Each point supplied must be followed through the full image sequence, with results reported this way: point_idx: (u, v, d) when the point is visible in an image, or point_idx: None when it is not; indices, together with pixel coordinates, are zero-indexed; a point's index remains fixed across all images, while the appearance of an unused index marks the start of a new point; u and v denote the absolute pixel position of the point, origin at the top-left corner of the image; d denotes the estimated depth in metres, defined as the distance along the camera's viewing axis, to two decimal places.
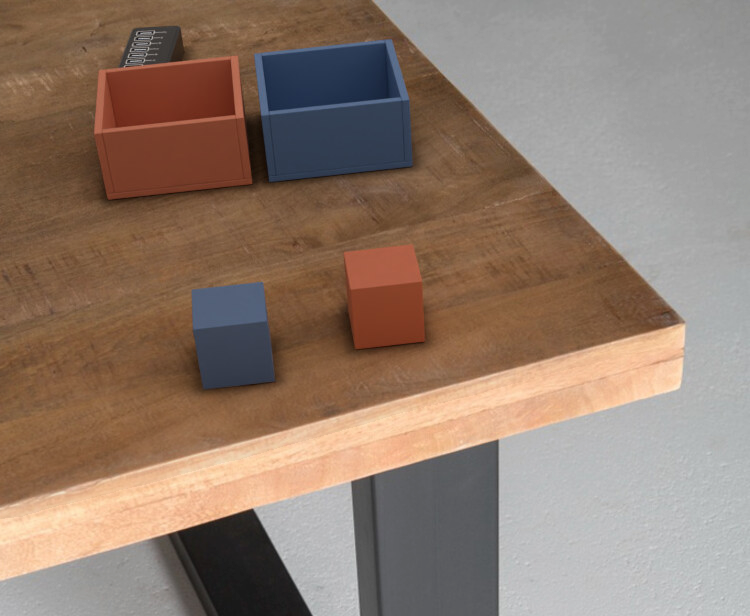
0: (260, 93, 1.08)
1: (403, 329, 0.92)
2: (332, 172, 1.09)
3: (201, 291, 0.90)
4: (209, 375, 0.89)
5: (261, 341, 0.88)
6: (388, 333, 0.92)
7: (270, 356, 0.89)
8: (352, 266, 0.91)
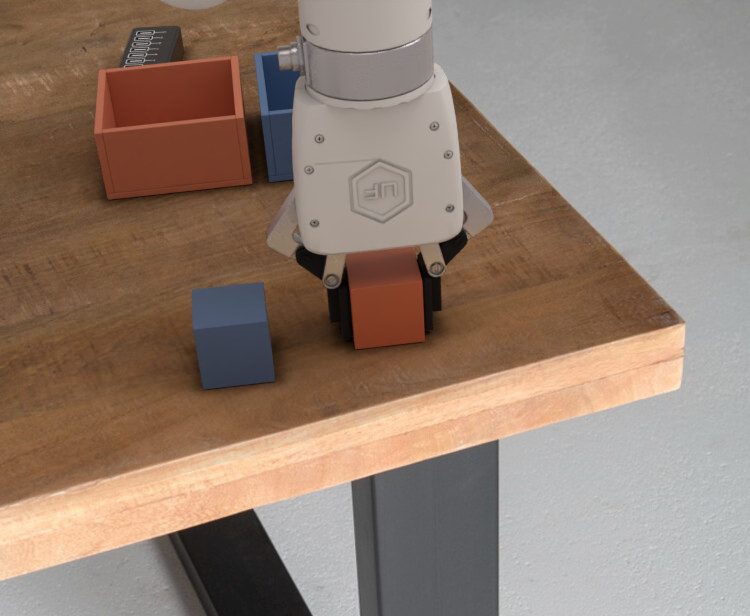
0: (260, 93, 1.08)
1: (403, 329, 0.92)
2: None
3: (201, 291, 0.90)
4: (209, 375, 0.89)
5: (261, 341, 0.88)
6: (388, 333, 0.92)
7: (270, 356, 0.89)
8: (352, 266, 0.91)
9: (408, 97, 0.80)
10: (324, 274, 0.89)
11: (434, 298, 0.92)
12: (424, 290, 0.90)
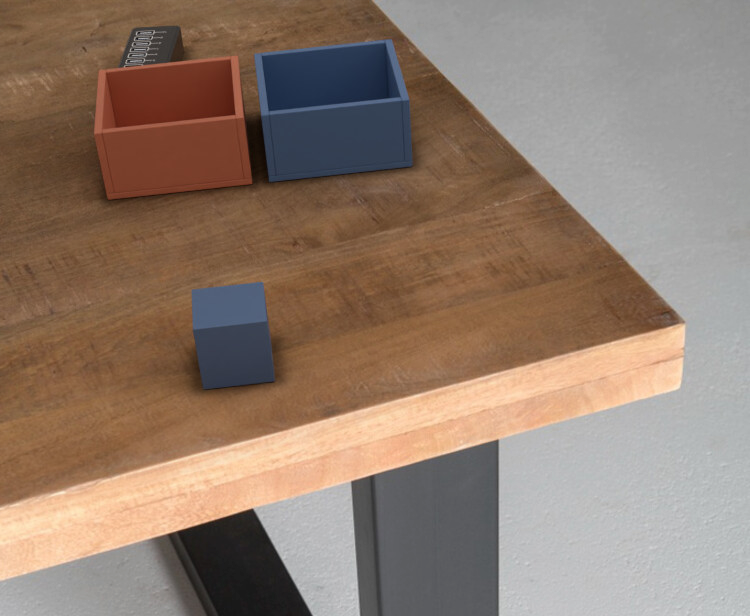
0: (260, 93, 1.08)
1: None
2: (332, 172, 1.09)
3: (201, 291, 0.90)
4: (209, 375, 0.89)
5: (261, 341, 0.88)
6: None
7: (270, 356, 0.89)
8: None
9: None
10: None
11: None
12: None
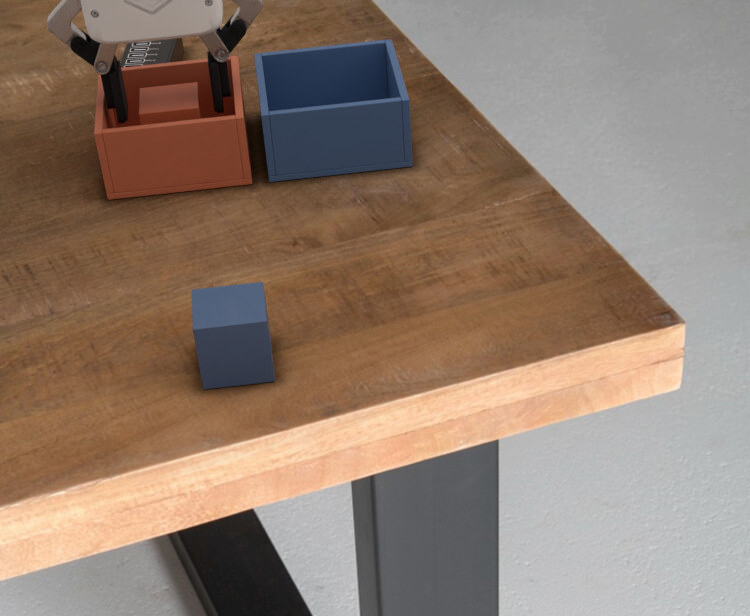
0: (260, 93, 1.08)
1: None
2: (332, 172, 1.09)
3: (201, 291, 0.90)
4: (209, 375, 0.89)
5: (261, 341, 0.88)
6: None
7: (270, 356, 0.89)
8: (144, 98, 1.10)
9: None
10: (96, 59, 1.05)
11: (223, 83, 1.08)
12: (211, 74, 1.07)
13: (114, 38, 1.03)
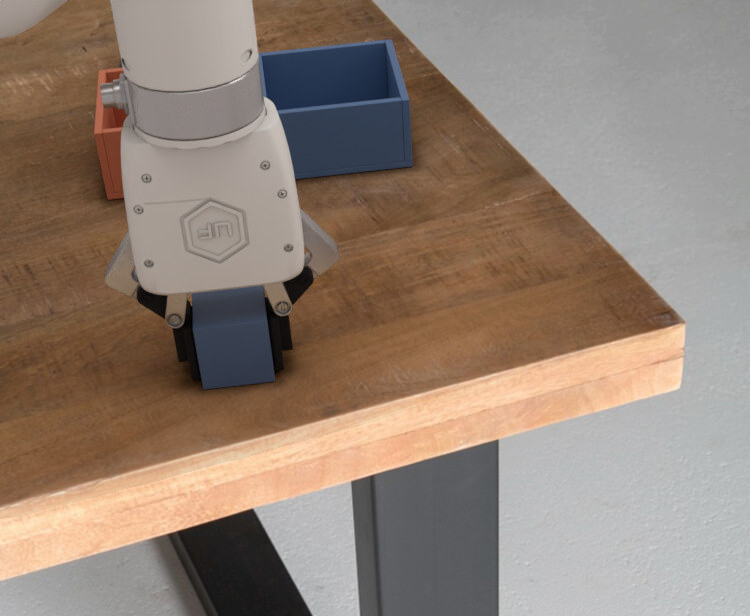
0: None
1: None
2: (332, 172, 1.09)
3: None
4: (209, 375, 0.89)
5: (261, 341, 0.88)
6: None
7: (270, 356, 0.89)
8: None
9: (234, 136, 0.78)
10: (166, 314, 0.87)
11: (283, 337, 0.90)
12: (271, 329, 0.88)
13: (172, 290, 0.84)
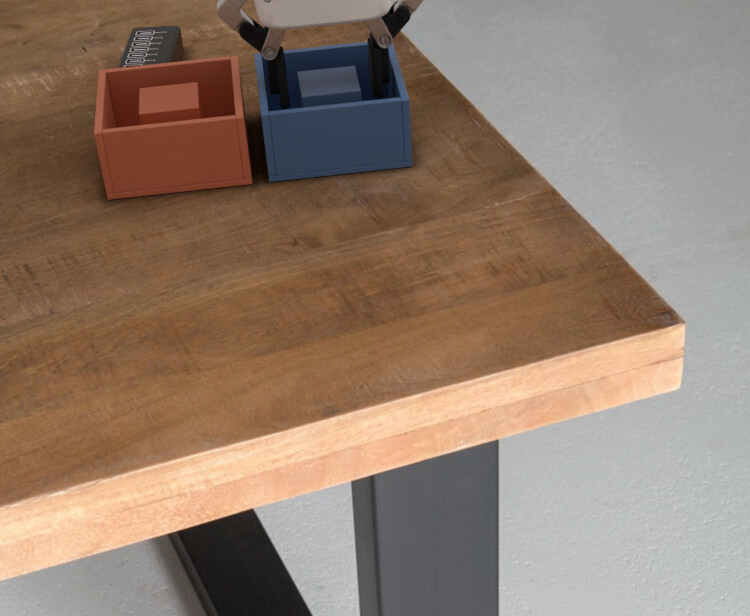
0: (260, 93, 1.08)
1: None
2: (332, 172, 1.09)
3: (305, 72, 1.11)
4: None
5: None
6: None
7: None
8: (144, 98, 1.10)
9: None
10: (264, 45, 1.06)
11: (383, 69, 1.09)
12: (374, 60, 1.08)
13: (284, 23, 1.04)
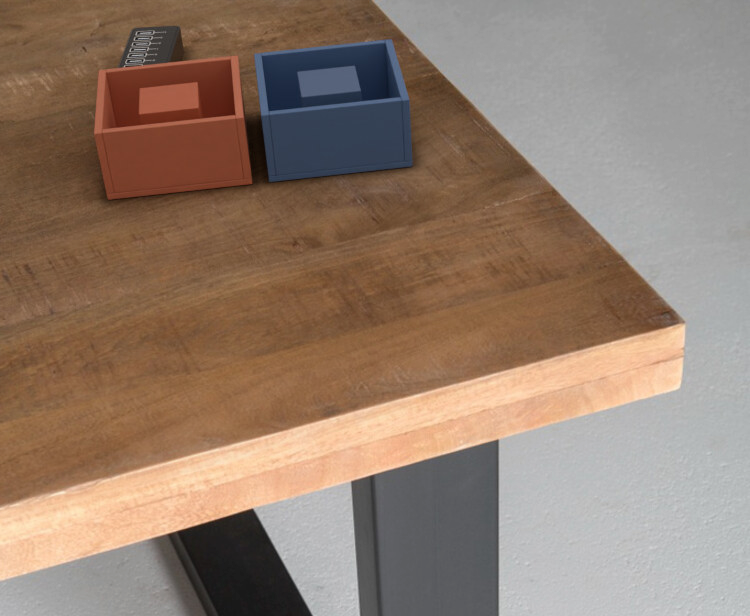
0: (260, 93, 1.08)
1: None
2: (332, 172, 1.09)
3: (305, 72, 1.11)
4: None
5: None
6: None
7: None
8: (144, 98, 1.10)
9: None
10: None
11: None
12: None
13: None
